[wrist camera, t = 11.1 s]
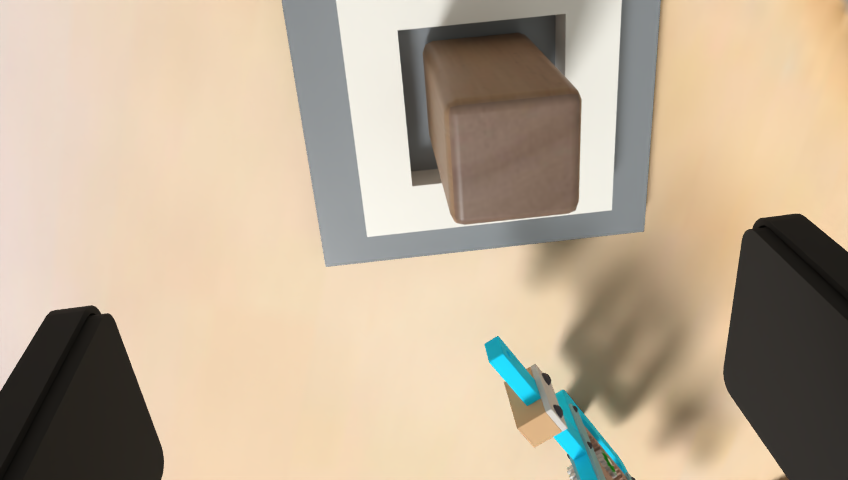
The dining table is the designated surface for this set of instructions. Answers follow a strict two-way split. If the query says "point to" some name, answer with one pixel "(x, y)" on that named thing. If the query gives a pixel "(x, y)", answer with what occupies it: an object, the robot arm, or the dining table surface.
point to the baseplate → (408, 121)
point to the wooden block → (502, 128)
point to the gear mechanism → (554, 418)
